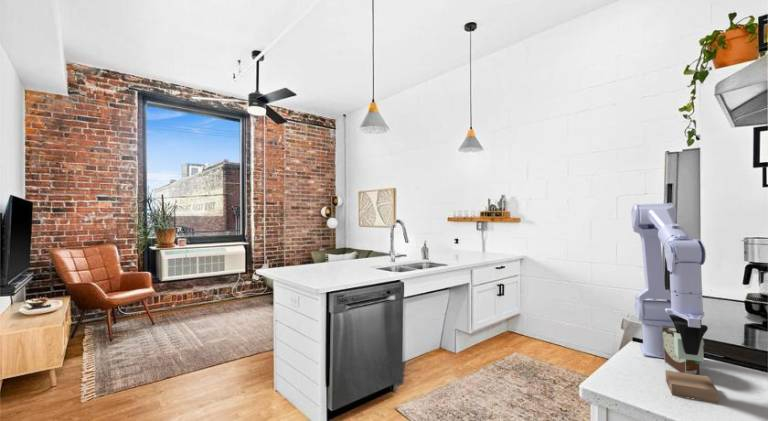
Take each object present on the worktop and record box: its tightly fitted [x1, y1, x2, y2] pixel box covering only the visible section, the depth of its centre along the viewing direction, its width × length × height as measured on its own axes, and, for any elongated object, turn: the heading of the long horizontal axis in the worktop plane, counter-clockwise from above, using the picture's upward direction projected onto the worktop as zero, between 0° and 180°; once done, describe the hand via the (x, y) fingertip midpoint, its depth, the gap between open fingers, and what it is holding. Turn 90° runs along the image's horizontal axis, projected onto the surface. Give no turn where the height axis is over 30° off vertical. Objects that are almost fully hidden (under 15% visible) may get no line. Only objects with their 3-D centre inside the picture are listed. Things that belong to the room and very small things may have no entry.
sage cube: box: [674, 333, 705, 362], centre depth 84 cm, size 4×4×4 cm
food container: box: [661, 325, 705, 375], centre depth 95 cm, size 12×6×10 cm, turn 168°
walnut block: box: [665, 369, 720, 404], centre depth 84 cm, size 8×8×3 cm
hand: (688, 350), depth 84 cm, fingers closed on sage cube, 4 cm apart
